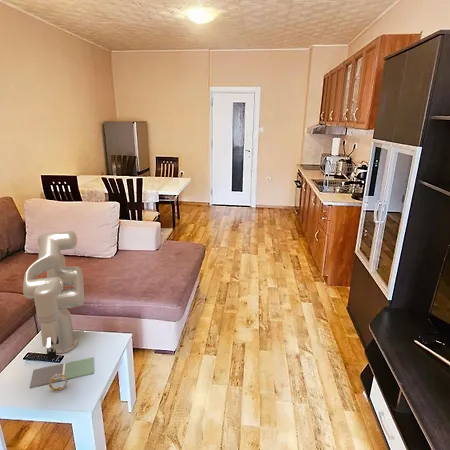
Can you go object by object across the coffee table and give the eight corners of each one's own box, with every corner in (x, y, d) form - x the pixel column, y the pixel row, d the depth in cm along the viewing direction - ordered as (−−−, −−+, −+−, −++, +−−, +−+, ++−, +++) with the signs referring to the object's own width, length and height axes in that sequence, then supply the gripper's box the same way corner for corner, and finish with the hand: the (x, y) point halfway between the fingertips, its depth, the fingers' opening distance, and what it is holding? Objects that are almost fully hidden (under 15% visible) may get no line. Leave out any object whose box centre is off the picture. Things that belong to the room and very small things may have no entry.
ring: (68, 385, 144) (66, 370, 141) (67, 391, 141) (65, 376, 138) (51, 388, 142) (49, 373, 139) (49, 394, 139) (47, 379, 136)
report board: (33, 370, 151) (33, 369, 151) (93, 358, 160) (93, 356, 160) (29, 388, 141) (29, 387, 141) (94, 373, 151) (93, 372, 150)
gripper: (40, 305, 136) (45, 340, 141) (34, 330, 120) (40, 368, 126) (60, 302, 138) (65, 337, 144) (56, 326, 123) (62, 363, 128)
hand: (53, 351), depth 135 cm, fingers open, 9 cm apart
